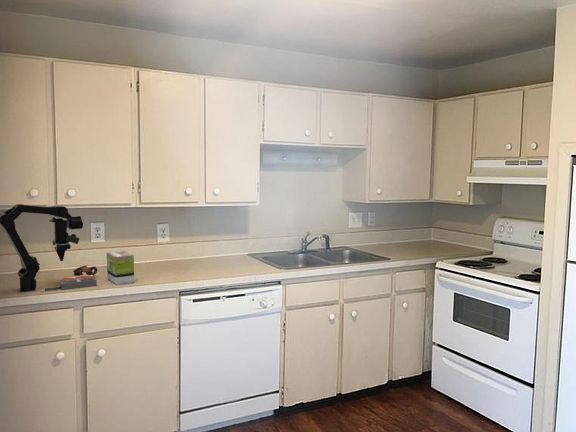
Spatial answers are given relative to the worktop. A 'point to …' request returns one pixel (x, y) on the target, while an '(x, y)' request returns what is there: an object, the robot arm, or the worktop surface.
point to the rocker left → (69, 278)
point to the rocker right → (86, 276)
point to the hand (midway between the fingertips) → (61, 260)
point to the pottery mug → (85, 270)
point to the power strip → (75, 284)
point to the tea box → (120, 267)
